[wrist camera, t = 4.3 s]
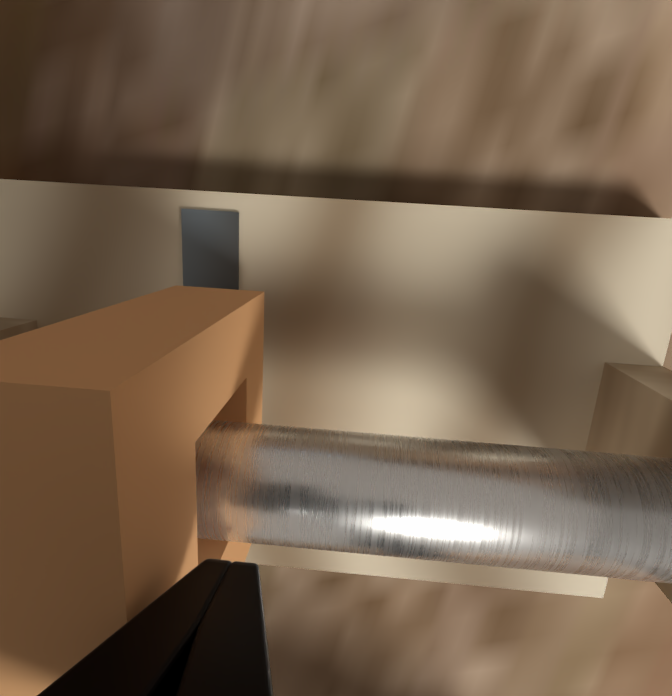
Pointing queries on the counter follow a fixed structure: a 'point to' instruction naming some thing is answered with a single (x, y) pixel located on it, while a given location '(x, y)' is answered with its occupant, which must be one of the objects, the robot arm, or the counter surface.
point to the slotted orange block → (111, 465)
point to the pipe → (436, 499)
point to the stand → (385, 320)
